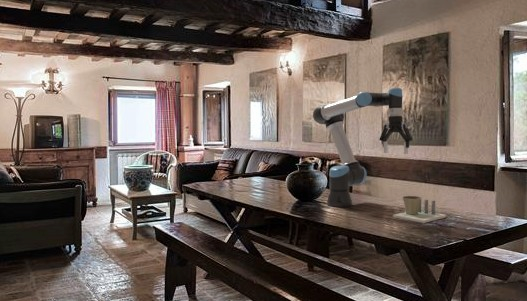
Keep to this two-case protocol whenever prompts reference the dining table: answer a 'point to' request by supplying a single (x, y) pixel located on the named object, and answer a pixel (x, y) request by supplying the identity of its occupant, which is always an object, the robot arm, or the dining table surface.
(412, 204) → the flower pot
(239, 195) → the dining table surface
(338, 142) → the robot arm
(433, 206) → the board
